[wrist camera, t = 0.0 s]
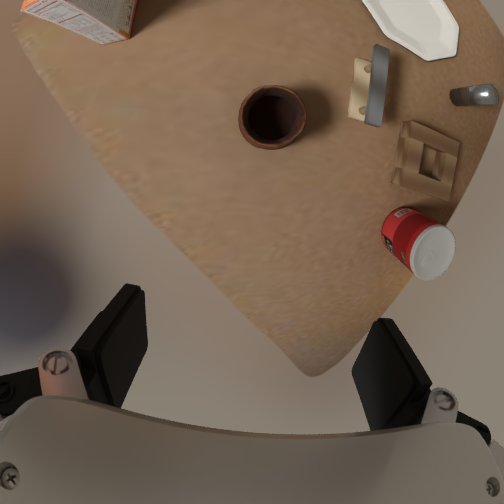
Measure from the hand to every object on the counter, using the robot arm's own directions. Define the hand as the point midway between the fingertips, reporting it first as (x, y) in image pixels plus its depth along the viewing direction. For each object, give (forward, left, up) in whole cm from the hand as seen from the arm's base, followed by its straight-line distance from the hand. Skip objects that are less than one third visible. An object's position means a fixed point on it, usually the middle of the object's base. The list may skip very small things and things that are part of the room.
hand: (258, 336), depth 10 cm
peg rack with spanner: (-19, +13, -31) cm, 39 cm away
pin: (-25, +31, -31) cm, 51 cm away
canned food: (+1, +24, -31) cm, 40 cm away
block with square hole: (-11, +25, -31) cm, 41 cm away
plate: (-39, +21, -32) cm, 55 cm away
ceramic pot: (-11, 0, -32) cm, 34 cm away
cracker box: (-30, -27, -32) cm, 51 cm away
